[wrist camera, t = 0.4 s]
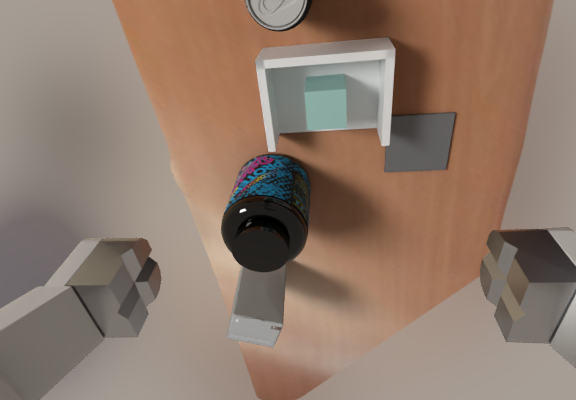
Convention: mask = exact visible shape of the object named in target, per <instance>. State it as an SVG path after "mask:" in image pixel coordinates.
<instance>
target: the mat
mask: <svg viewBox="0 0 576 400" xmlns="http://www.w3.org/2000/svg"><path fill="white" fill-rule="evenodd" d="M454 118H455V112H447V113H431V114H415V115H398V116H391V128H390V144H389V146H386V153H385V170H384V171H385V172H403V171H426V170H446V165H447V159H448V154H449V148H450V142H451V136H452V130H453V124H454Z"/></svg>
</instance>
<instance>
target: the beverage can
mask: <svg viewBox="0 0 576 400" xmlns="http://www.w3.org/2000/svg"><path fill="white" fill-rule="evenodd" d="M245 3H246V6H247V9H248V11H249V13H250V15H251V16H252V17H253V19H254V20H255V21H256V22H257V23H258V24H259V25H261V26H262V27H264V28H266V29H268V30H272V31H287V30H290V29H292V28H294V27H296V26H297V25H298V24H300V23H301V22H302V21H303V20H304V18H305V17H306V15H307V14H308V12H309V9H310V7H311V3H312V0H245Z"/></svg>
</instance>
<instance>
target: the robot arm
mask: <svg viewBox="0 0 576 400" xmlns="http://www.w3.org/2000/svg"><path fill="white" fill-rule="evenodd" d="M487 246H488V248H489V250H490V253H489V254H487V255H486V256H485V257H484V258H482V263H481V267H480V280H481V285H482V289H483V292H484V294H485V296H486V299H487V300H489V301H490V302H491V303H493V304H494V305H495V306H497V309H496V312H495V314H494V316H495V319H496V321H497V323H498V325H499V327H500V329H501V332H502V334H503V336H504V338H505V340H506V342H523V343H549V344H550V346H551V347H552V348H553V349H554V350H556V352H558V353H559V354H560V355H561V356H562V357H563V358H564V359H566V360H567V361H568V362H569V363H570V364H572V365H573V366H574V367H575V368H576V232H575V231H574V230H572V229H570V228H568V227H561V228H542V229H520V230H519V229H516V230H493V231H492V232H491V233H490V235H489V237H488V240H487ZM151 250H152V249H151V247H150V245H149V243H148V241H147V240H145V239H143V238H105V239H103V238H100V239H99V238H93V239H92V238H88V239H85V240H83V241H81V242H80V243H79V245H78V246H77V247H76V248H75V249H74V251H73V252H72V253H71V254H70V255H69V257H68V258H67V259H66V260H65V262H64V263H63V264H62V265H61V266H60V268H59V269H58V270H57V271H56V272H55V274H54V275H53V276H52V277H51V279H50V280H49V281H48V282H47V284H46V285H45V286H44V287H37V288H35V289H33V290H31V291H30V292H28V293H26V294H25V295H23V296H21V297H20V298H18V299H16V300H14V301H13V302H11V303H9V304H8V305H6V306H4V307H3V308H1V309H0V400H40V399H41V398H42V397H43V396H44V395H45V394H46V393H47V392H48V391H49V390H51V389H52V388H53V387H54V386H55V385H56V384H57V383H58V382H59V381H60V380H61V379H62V378H64V377H65V376H66V375H67V374H68V373H69V372H70V371H71V370H72V369H73V368H74V367H75V366H76V365H78V363H80V362H81V361H82V360H83V359H84V358H85V357H86V356H87V355H88V354H89V353H91V352H92V350H94V349H95V348H96V347H97V346H98V345H99V344H100V343H101V342H102V341H103V340H104V338H115V337H138V335H139V333H140V331H141V329H142V326H143V324H144V322H145V320H146V318H147V316H148V311H147V308H146V306H148V305H149V304H150V303H151V302H153V301H154V300H155V299H156V297H157V295H158V292H159V290H160V284H161V273H160V269H159V266H158V264H157V262H155V261H154V260H153V259H151V258H150V257H149V255H150V253H151Z"/></svg>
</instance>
